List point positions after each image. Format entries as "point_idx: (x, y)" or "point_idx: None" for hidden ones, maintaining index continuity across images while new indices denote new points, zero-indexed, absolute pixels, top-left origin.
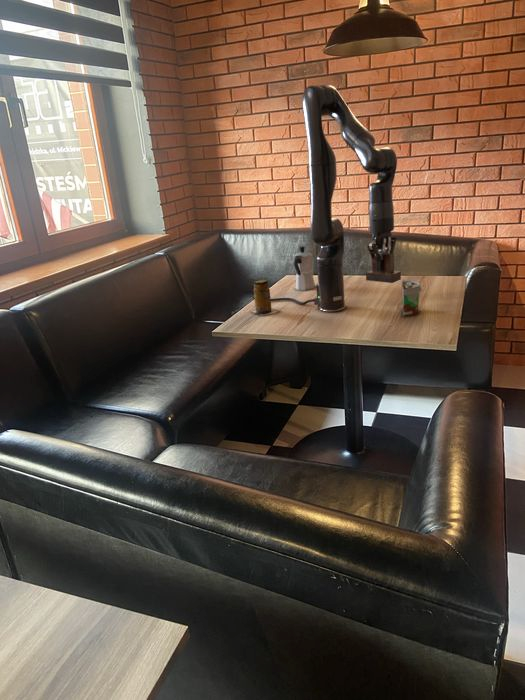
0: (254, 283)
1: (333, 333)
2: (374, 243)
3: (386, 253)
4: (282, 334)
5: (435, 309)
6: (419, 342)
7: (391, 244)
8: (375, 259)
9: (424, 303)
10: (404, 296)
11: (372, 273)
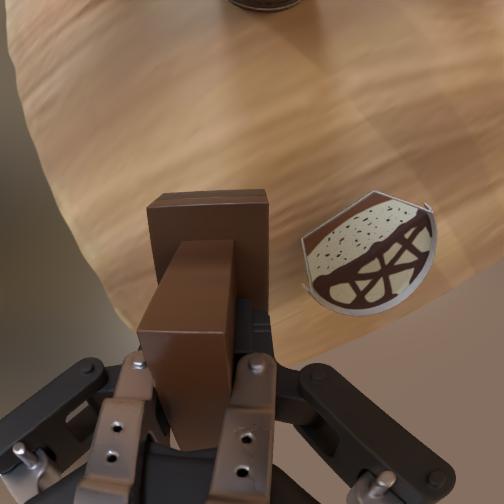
0: None
1: (67, 154)
2: (35, 494)
3: (209, 437)
4: (14, 59)
5: None
6: None
7: (346, 471)
8: (131, 354)
9: (436, 222)
10: (309, 278)
11: (155, 262)
